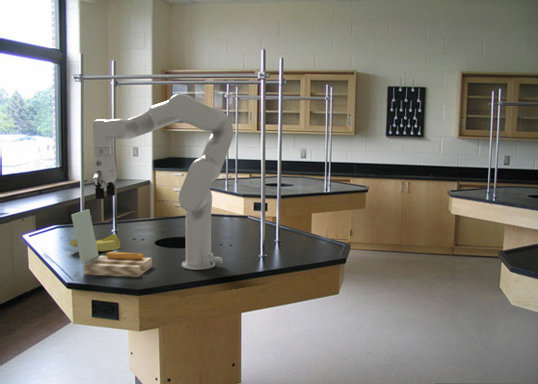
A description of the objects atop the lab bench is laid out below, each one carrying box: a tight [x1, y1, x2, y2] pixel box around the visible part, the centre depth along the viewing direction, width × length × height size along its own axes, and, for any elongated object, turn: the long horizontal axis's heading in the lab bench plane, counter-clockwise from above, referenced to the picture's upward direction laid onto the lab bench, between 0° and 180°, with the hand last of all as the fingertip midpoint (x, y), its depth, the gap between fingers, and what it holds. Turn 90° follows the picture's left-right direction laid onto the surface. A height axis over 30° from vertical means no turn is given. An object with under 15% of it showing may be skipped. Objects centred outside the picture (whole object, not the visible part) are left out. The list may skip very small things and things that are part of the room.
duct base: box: [83, 255, 153, 278], centre depth 199 cm, size 20×14×4 cm
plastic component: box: [69, 233, 121, 252], centre depth 230 cm, size 20×7×10 cm
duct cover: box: [71, 208, 100, 265], centre depth 199 cm, size 18×12×1 cm
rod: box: [105, 251, 144, 260], centre depth 202 cm, size 14×2×2 cm, turn 82°
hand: (105, 197), depth 208 cm, fingers open, 9 cm apart
